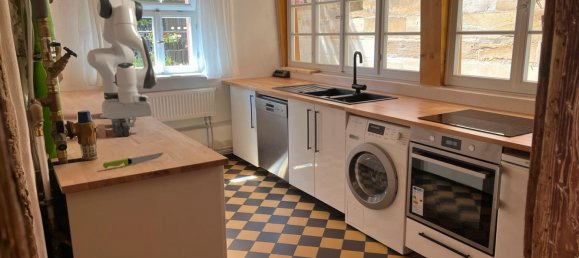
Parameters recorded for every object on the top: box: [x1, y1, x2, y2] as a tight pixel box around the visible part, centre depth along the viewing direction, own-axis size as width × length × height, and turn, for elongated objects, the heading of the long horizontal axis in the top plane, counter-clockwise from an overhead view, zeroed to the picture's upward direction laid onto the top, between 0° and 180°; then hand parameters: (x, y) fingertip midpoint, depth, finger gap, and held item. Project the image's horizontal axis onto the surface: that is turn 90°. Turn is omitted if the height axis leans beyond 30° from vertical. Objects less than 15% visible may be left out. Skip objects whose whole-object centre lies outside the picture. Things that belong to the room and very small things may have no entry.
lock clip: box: [97, 123, 107, 139], centre depth 204 cm, size 9×3×4 cm, turn 24°
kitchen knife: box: [102, 151, 165, 170], centre depth 159 cm, size 22×1×3 cm, turn 127°
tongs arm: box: [122, 122, 130, 137], centre depth 207 cm, size 14×2×4 cm, turn 24°
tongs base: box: [111, 118, 131, 138], centre depth 209 cm, size 19×8×6 cm, turn 24°
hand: (131, 126), depth 206 cm, fingers closed
